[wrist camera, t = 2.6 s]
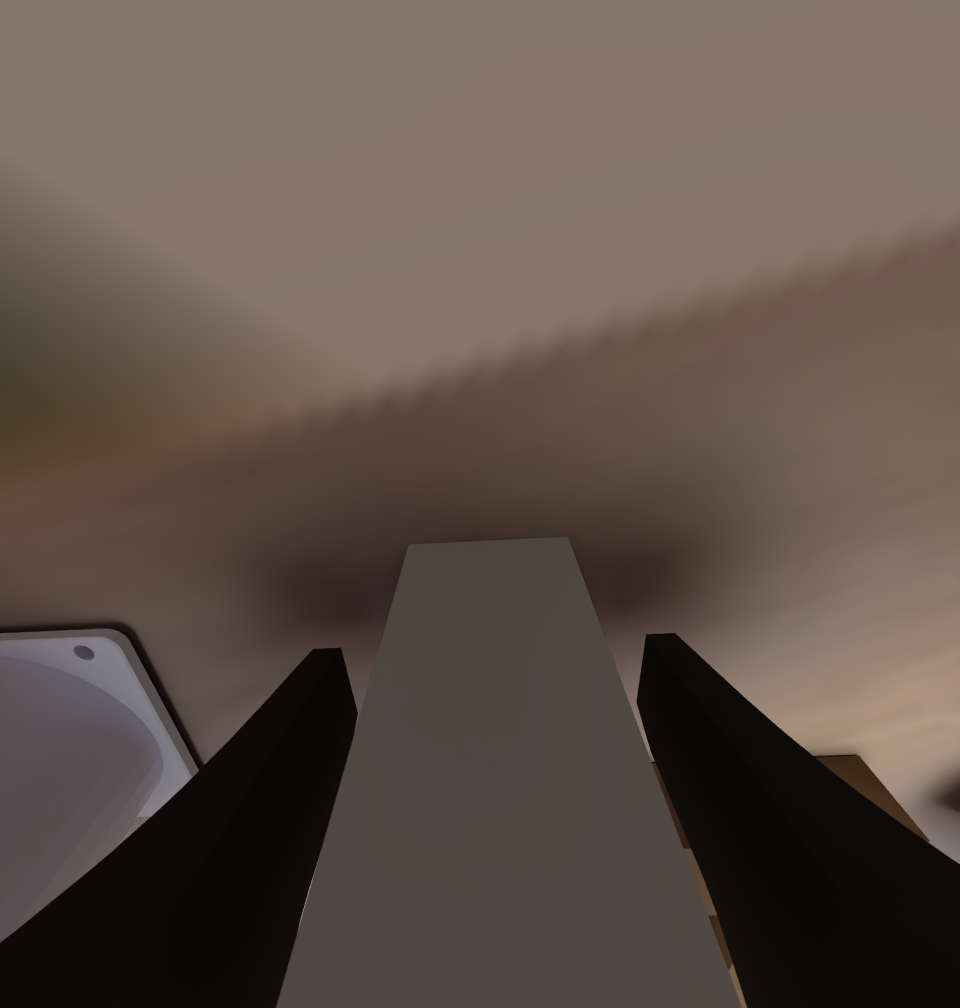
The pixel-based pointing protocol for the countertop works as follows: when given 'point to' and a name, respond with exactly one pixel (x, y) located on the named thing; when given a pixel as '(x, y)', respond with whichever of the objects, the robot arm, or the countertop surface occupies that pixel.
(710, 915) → the collar
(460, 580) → the peg
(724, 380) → the countertop surface
